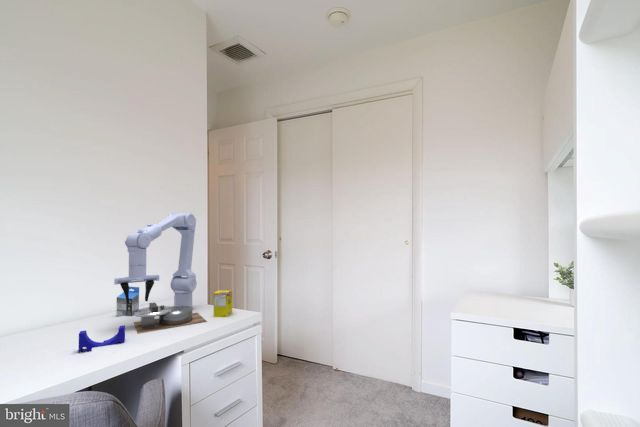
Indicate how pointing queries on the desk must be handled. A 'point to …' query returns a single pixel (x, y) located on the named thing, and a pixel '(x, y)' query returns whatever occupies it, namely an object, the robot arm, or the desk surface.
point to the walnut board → (195, 320)
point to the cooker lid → (153, 310)
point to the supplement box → (222, 303)
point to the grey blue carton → (132, 306)
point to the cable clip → (89, 344)
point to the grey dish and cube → (170, 317)
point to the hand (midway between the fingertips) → (137, 301)
